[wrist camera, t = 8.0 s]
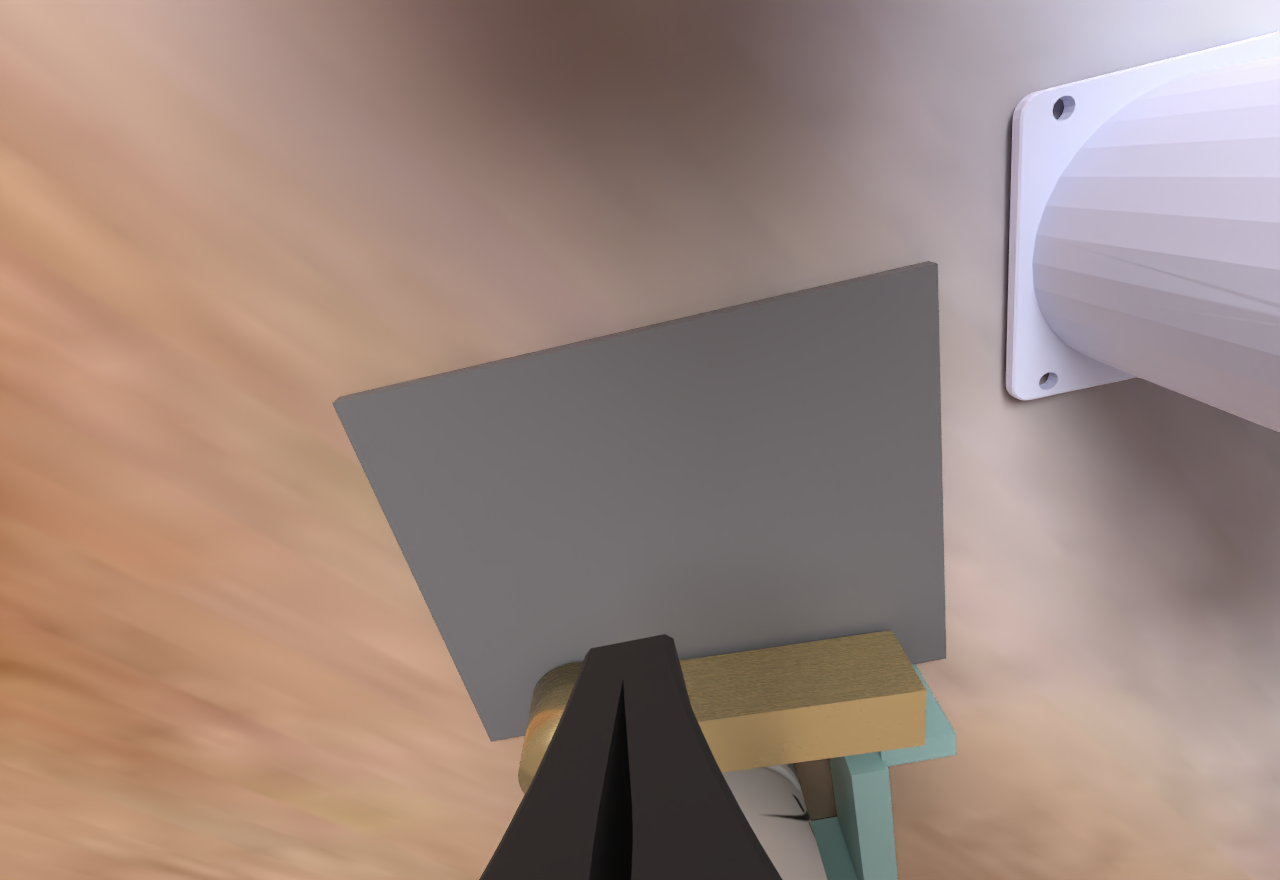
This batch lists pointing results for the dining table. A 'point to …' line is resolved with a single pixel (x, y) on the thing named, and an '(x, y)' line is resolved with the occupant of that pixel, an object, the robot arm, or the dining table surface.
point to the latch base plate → (675, 486)
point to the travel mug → (779, 819)
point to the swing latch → (776, 703)
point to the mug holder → (873, 803)
